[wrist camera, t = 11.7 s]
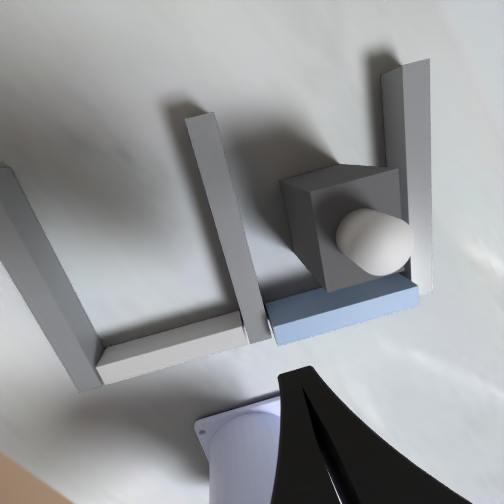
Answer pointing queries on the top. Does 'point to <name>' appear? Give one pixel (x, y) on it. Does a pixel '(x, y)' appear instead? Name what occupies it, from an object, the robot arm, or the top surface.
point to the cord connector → (347, 223)
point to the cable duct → (232, 259)
